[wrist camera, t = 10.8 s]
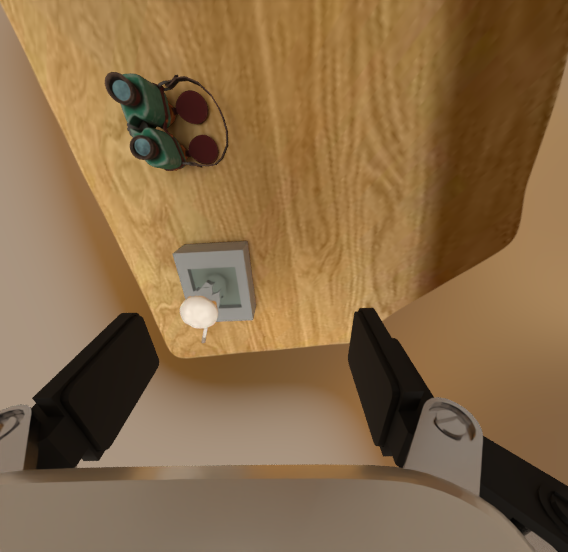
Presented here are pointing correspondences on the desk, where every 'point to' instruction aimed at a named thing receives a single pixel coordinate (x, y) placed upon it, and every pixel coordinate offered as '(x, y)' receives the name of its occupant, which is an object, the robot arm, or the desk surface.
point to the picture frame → (227, 262)
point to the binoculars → (162, 121)
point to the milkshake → (204, 303)
